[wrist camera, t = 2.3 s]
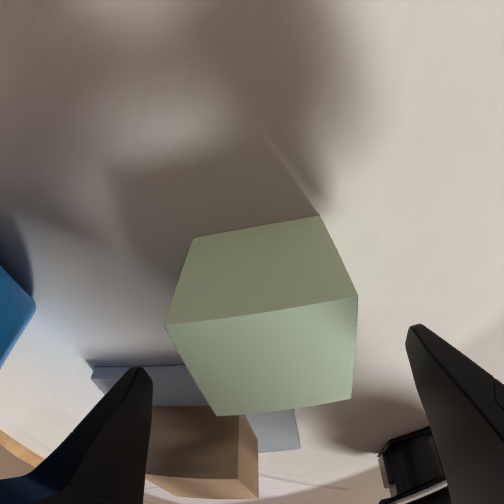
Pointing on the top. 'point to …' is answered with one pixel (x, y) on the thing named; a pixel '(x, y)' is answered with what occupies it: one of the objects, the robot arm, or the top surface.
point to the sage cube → (266, 318)
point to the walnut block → (202, 453)
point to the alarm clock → (12, 313)
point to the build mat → (206, 403)
